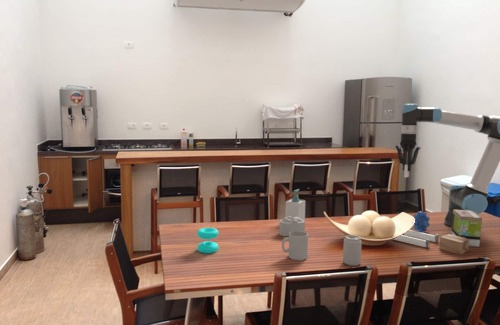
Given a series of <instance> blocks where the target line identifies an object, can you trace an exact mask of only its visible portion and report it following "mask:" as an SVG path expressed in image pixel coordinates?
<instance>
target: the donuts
mask: <svg viewBox="0 0 500 325" xmlns="http://www.w3.org/2000/svg"><path fill="white" fill-rule="evenodd" d="M196 235H197V237H198V238H200V239H203V240H207V241H202V242H200V243H199V244H198V245H197V246H196V249H197V251H198V252H199V253H201V252H202V253H201V254H214V253H216V252H218V250H219V248H220V247H219V244H218V243H217V242H214V241H208V240H211V239H216V238H218V236H219V230H218V229H217V228H215V227H202V228H199V229H198V230H197V232H196ZM213 252H214V253H213Z"/></svg>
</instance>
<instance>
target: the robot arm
mask: <svg viewBox="0 0 500 325" xmlns="http://www.w3.org/2000/svg"><path fill="white" fill-rule="evenodd" d="M417 123H430V124H431V123H433V124H437V125H444V126H448V127H449V126H450V127H455V128H462V129H467V130H473V131H475V133H479V134H483V135H487V141H488V142H487V145H486V148H485V149H484V152H483V154H482V155H481V158H480V160H479V162H478V165H477V167H476V169H475V171H474V174H473V176H472V178H471V180H470V182H469V183H467V184H451V185H450V187H449V190H448V192H449V195H448V209H447V212H446V214H445V217H444V219H443V220H444V221H443V223H444V225H447V226H449V227H452V217H453V210H471V211H474V212H475V213H477V214H478V215H479V214H481V213H483V212H485V210H486V209H487V207H488V204H489V202H488V199H487V198H488V196H489V191H488V188H489V186H490V183H491V182H492V179H493V177H494V175H495V173H496V170H497V168H498V167H499V164H500V115H484V114H479V115H472V114H467V113H459V112H453V111H448V110H443V109H441V108H440V107H425V106H424V107H422V106H419V105H418V103H405V104H403V105H402V112H401V134H400V142H399V144H397V145H395V149H396V151H397V156H398V160H399V161H398V162H399V164H402V171H404V172H403V173H404V174H403V177H404V178H409V177H410V172H411V170H412V165H415V164H416V161H417V157H418V154H419V151H420V150H421V149H422V148H421V146H420V145H419V146H418V145H417V141H416V140H417V127H418V126H417V125H418V124H417ZM413 150H414V151H413Z"/></svg>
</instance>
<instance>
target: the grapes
mask: <svg viewBox="0 0 500 325" xmlns="http://www.w3.org/2000/svg"><path fill="white" fill-rule="evenodd" d="M413 218H414V219H415V223H414V224H413V228H414V231H417V232H422V233H424V232H426V231H427V230H428V227H430V222H429V221H430V216H428V214H427V212H425V211H423V212H422V211H421V210H419V211H417V213H415V214H414V215H413Z"/></svg>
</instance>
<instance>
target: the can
mask: <svg viewBox="0 0 500 325" xmlns="http://www.w3.org/2000/svg"><path fill="white" fill-rule="evenodd" d="M362 244H363V243H362V240H361V237H360V236H358V235H356V234H354V235H353V234H349V235H345V237H344V239H343V249H342V250H343V251H342V262H343V263H344V264H345V265H346V266H349V267H357V266H359V265H360V264H361V263H362Z"/></svg>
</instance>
